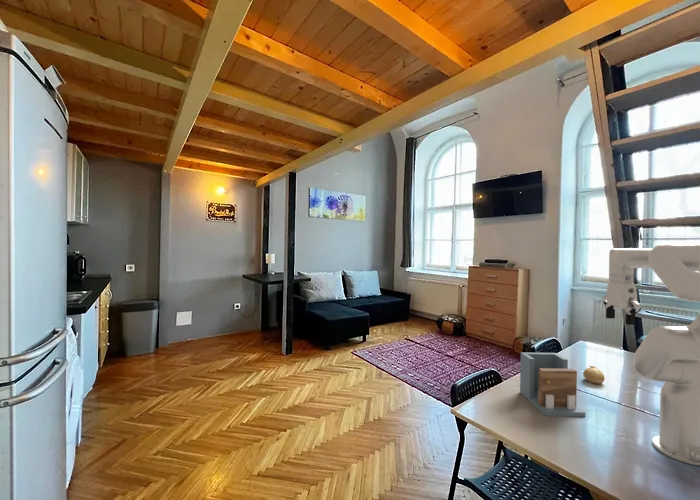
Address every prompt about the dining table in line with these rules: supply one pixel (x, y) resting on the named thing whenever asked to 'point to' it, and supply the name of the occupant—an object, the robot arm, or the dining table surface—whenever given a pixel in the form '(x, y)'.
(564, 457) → the dining table surface
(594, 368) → the onion
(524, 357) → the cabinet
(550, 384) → the door
